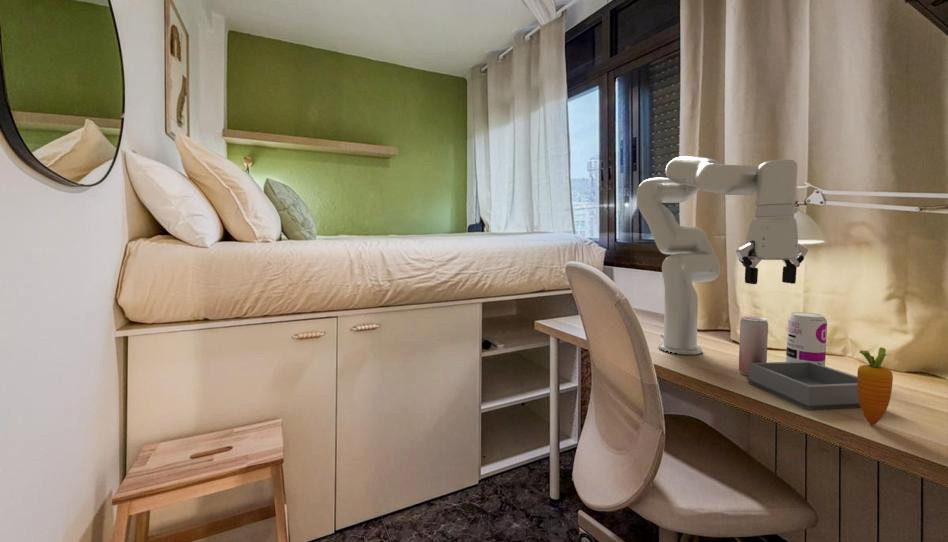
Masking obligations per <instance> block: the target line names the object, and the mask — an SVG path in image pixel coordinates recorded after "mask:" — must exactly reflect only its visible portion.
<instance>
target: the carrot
mask: <svg viewBox="0 0 948 542" xmlns="http://www.w3.org/2000/svg"><path fill="white" fill-rule="evenodd" d="M859 353H860V354H861V355H863V357H865V359H866V361H867V363H868V364H861V365H860V366H858V368H857V375H856V376H857V390H858V398H859V403H860V407H861V408H860V409H861V411H862V412H861V413H862V414H863V416H864V418H865V420H866V422H867V423H868V424H870V426H874V425H876V424H877V423H878V422H879V421H881V419H882V418H883V417H884V415H885V414H886V412H887V410H888V407H889V404H890V400H891V397H892V389H893V382H894V381H893V379H894V376H893V372H892V370H891V369H889V368H886V367H882V364H883V361H884V359H885V357H886V356H887V354H886V353H887V350H886V348H885V347H882V346H881V347H879V349H878V354H877V356H876V358H875V356H873V355H871V353H870V351H869V350H866V349H865V350H862V349H860V350H859Z"/></svg>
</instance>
